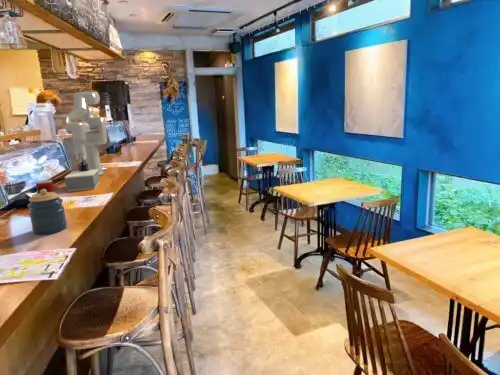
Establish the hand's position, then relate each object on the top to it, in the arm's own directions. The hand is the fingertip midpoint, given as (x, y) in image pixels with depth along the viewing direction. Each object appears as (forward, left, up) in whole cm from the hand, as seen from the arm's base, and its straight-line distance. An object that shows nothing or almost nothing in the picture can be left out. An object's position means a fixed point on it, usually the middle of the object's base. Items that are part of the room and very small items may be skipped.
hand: (84, 170), depth 241 cm
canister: (+64, +67, -10) cm, 94 cm away
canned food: (+35, +15, -10) cm, 40 cm away
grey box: (+5, +5, -9) cm, 12 cm away
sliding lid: (+5, +5, -1) cm, 8 cm away
